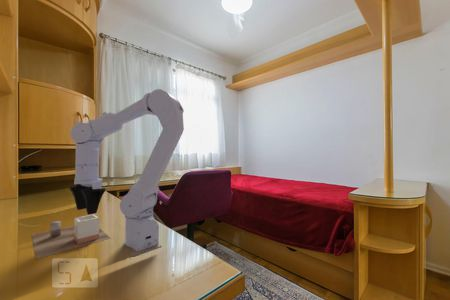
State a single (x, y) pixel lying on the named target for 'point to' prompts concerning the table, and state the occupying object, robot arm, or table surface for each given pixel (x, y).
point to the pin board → (59, 240)
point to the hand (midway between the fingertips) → (86, 211)
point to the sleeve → (86, 228)
